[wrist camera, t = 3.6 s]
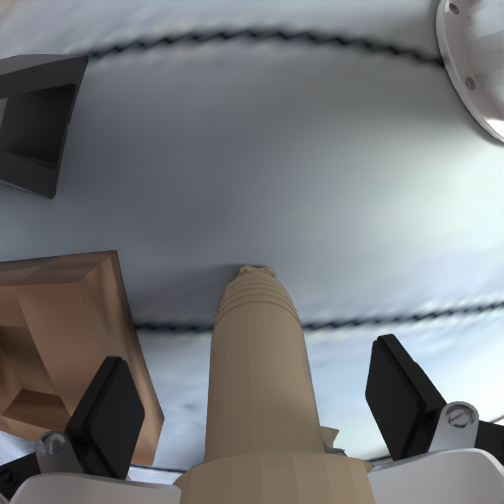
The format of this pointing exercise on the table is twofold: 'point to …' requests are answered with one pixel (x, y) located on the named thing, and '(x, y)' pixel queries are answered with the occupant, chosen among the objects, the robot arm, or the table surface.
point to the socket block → (66, 343)
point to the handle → (266, 410)
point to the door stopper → (36, 118)
